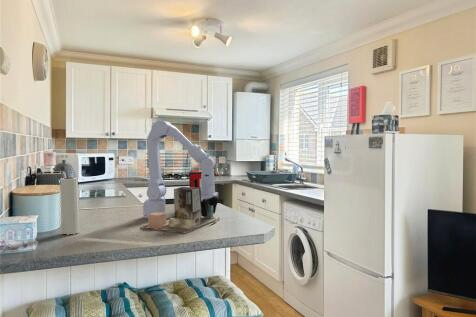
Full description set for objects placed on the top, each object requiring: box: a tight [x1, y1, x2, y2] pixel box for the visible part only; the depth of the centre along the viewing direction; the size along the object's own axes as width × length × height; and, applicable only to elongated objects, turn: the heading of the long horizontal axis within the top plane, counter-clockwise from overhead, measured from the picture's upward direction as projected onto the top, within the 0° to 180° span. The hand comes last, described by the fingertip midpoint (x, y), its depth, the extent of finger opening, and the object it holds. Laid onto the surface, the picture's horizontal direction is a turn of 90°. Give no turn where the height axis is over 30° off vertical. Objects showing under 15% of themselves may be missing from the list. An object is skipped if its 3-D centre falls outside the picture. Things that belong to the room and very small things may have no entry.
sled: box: [168, 205, 221, 230], centre depth 143 cm, size 12×21×6 cm, turn 154°
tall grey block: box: [59, 177, 80, 236], centre depth 131 cm, size 7×6×21 cm
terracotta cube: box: [147, 212, 167, 228], centre depth 136 cm, size 5×5×5 cm
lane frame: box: [139, 215, 217, 235], centre depth 139 cm, size 21×22×6 cm
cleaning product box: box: [188, 169, 208, 201], centre depth 172 cm, size 16×9×20 cm, turn 6°
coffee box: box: [173, 186, 203, 227], centre depth 137 cm, size 9×6×16 cm
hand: (208, 214), depth 152 cm, fingers open, 6 cm apart
